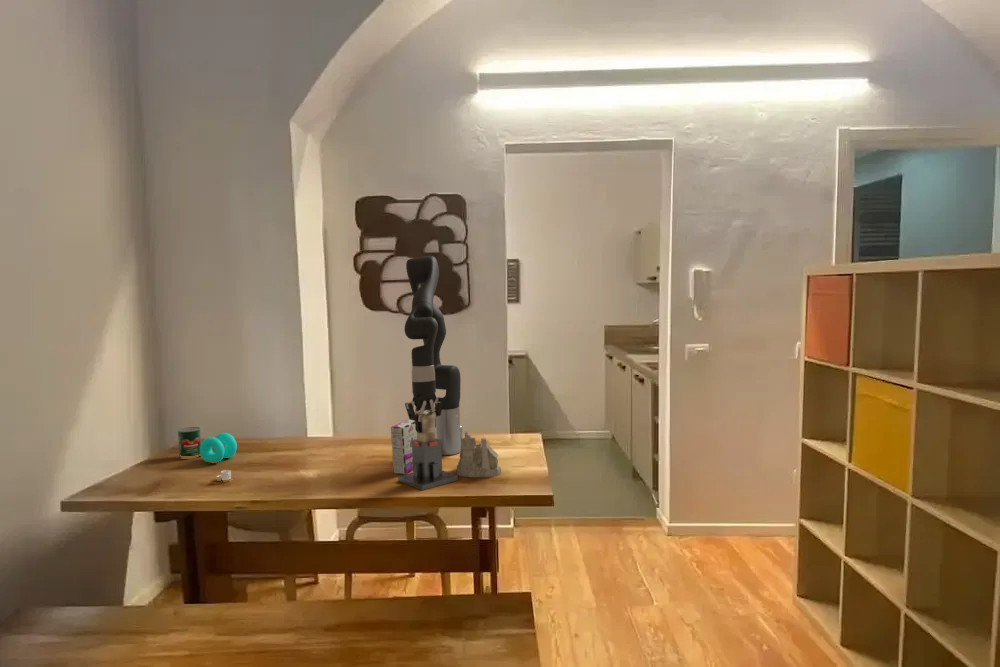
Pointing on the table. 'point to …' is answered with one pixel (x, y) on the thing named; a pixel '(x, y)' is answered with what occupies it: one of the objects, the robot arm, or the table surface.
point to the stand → (427, 466)
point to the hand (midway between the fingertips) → (425, 430)
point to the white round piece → (225, 475)
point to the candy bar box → (403, 446)
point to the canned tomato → (189, 441)
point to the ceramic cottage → (477, 459)
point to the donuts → (218, 447)
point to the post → (427, 428)
